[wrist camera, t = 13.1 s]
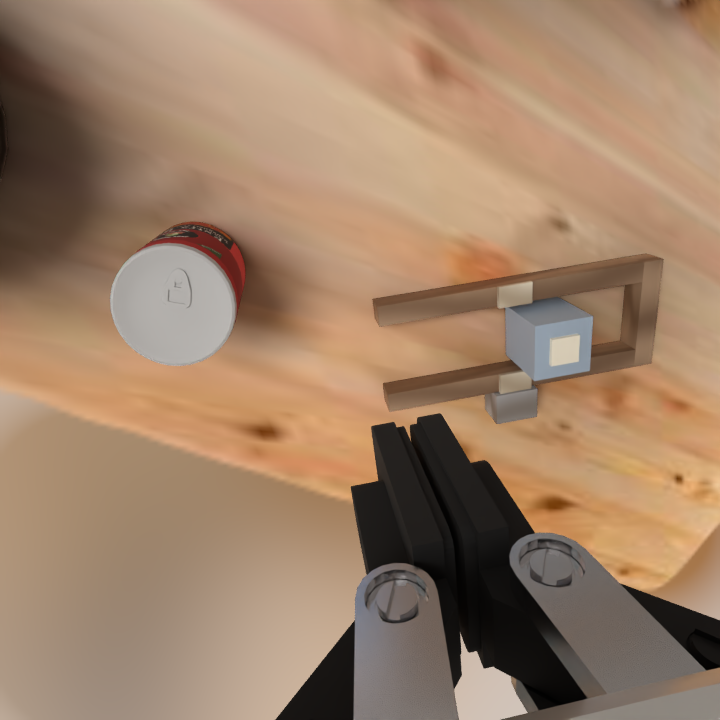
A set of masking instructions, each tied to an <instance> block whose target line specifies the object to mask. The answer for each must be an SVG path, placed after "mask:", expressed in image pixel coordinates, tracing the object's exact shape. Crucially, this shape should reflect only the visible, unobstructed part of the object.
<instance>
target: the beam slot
mask: <svg viewBox="0 0 720 720" xmlns="http://www.w3.org/2000/svg"><path fill="white" fill-rule="evenodd" d="M662 268H663V259H662V258H659V257H655V256H652V255H648V254H641V255H635V256H629V257H623V258H617V259H611V260H605V261H599V262H593V263H587V264H581V265H575V266H569V267H563V268H557V269H551V270H545V271H539V272H533V273H526V274H520V275H514V276H508V277H502V278H496V279H490V280H484V281H478V282H472V283H466V284H460V285H454V286H448V287H442V288H436V289H430V290H424V291H418V292H412V293H406V294H400V295H394V296H388V297H382V298H376V299H373V307H374V315H375V319H376V321H377V323H378V325H379V327H382V326H388V325H394V324H400V323H405V322H411V321H417V320H423V319H429V318H435V317H441V316H446V315H452V314H458V313H464V312H470V311H476V310H482V309H487V308H493V307H498V308H499V309H500V308H506V307H512V306H518V305H524V304H529V303H532V301H534V300H540V299H546V298H552V297H558V296H563V295H569V294H575V293H581V292H587V291H593V290H599V289H604V288H610V287H616V286H622V285H625V291H624V303H623V314H622V326H621V338H620V341H616V342H610V343H605V344H599V345H594V346H591V360H590V371H587V372H581V373H576V374H570V375H565V376H559V377H554V378H549V379H543V380H538V381H534V380H533V379H532V378H530V377H529V376H528V375H527V374H526V373H525V372H524V371H523V370H522V369H521V368H520V367H519V366H518V365H516V364H515V363H514V362H513V361H512V360H510V361H505V362H499V363H494V364H488V365H483V366H477V367H472V368H466V369H461V370H455V371H449V372H444V373H438V374H433V375H427V376H422V377H416V378H411V379H405V380H400V381H394V382H388V383H383V389H384V398H385V402H386V404H387V407H388V409H389V412H392V411H398V410H403V409H409V408H414V407H419V406H425V405H430V404H436V403H441V402H446V401H452V400H457V399H463V398H468V397H473V396H479V395H484V394H485V409H486V411H487V412H488V413H489V415H490V416H491V417H492V418H493V420H494V421H495V422H496V424H501V423H506V422H511V421H516V420H522V419H527V418H532V417H537V391H538V389H537V388H536V387H535V386H534V385H538V384H544V383H549V382H554V381H560V380H565V379H571V378H576V377H581V376H587V375H592V374H598V373H603V372H608V371H614V370H619V369H625V368H630V367H635V366H641V365H646V364H651V363H652V355H653V346H654V337H655V329H656V320H657V311H658V303H659V294H660V285H661V277H662Z"/></svg>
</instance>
